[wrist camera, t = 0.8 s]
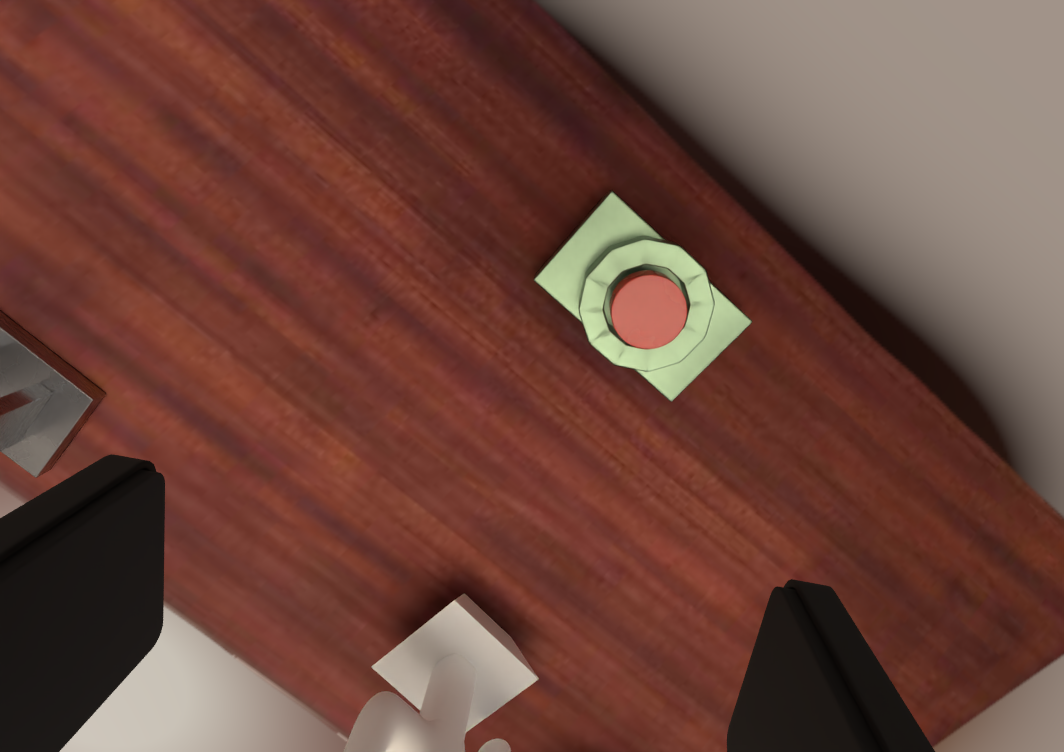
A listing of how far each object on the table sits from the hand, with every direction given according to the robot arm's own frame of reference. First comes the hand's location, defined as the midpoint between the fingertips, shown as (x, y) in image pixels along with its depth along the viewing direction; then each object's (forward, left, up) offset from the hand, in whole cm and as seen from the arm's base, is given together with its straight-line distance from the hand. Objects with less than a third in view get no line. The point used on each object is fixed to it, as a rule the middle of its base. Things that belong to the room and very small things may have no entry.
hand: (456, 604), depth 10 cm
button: (0, +5, -25) cm, 26 cm away
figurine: (+23, -3, -29) cm, 37 cm away
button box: (0, +5, -29) cm, 29 cm away
